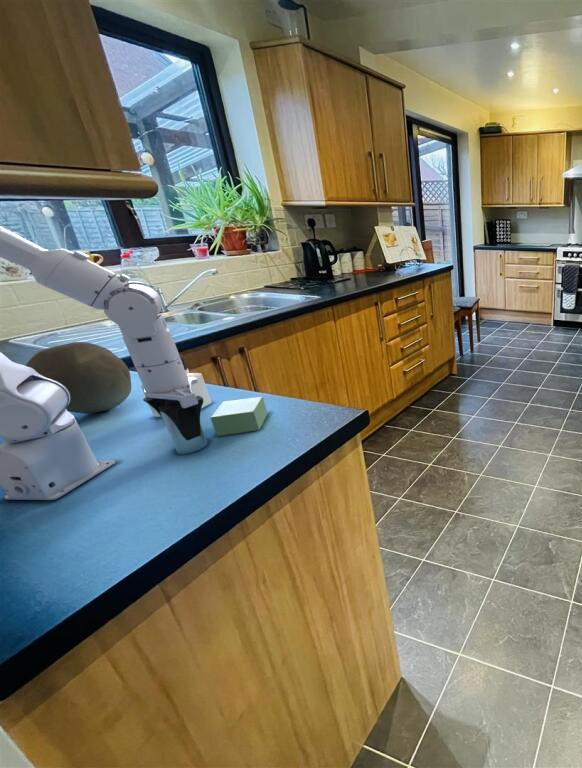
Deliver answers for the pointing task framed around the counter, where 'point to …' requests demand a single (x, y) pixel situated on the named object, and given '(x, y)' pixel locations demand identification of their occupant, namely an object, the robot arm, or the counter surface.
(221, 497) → the counter surface
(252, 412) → the block
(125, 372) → the cantaloupe
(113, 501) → the counter surface
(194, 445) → the flask
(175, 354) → the robot arm
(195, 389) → the medicine bottle
